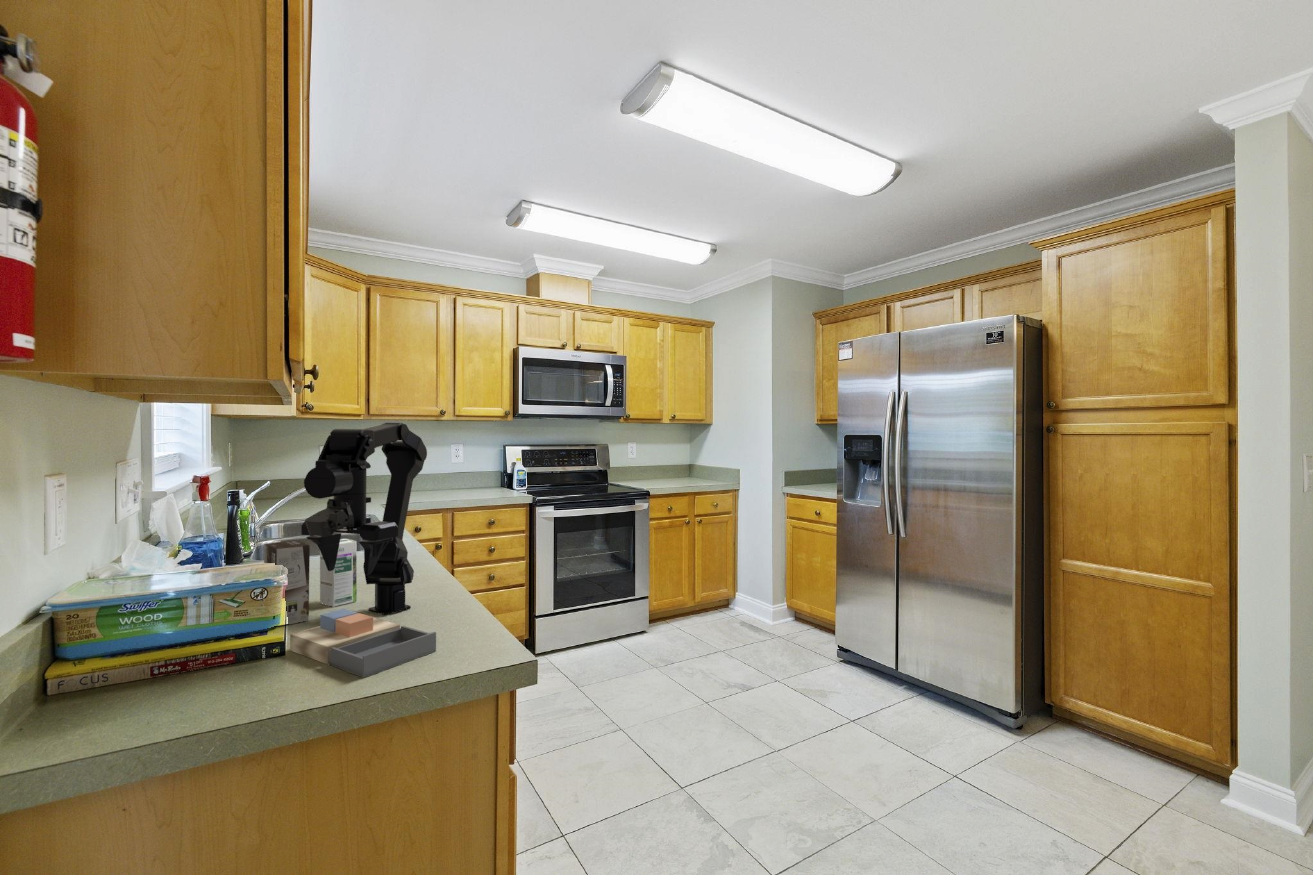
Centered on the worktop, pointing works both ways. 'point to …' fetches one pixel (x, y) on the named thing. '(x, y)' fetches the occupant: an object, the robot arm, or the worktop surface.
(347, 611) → the blue-glazed tile
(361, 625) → the terracotta tile
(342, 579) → the syrup box
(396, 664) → the charcoal tray
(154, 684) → the worktop surface
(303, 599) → the coffee box
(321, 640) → the birch board
